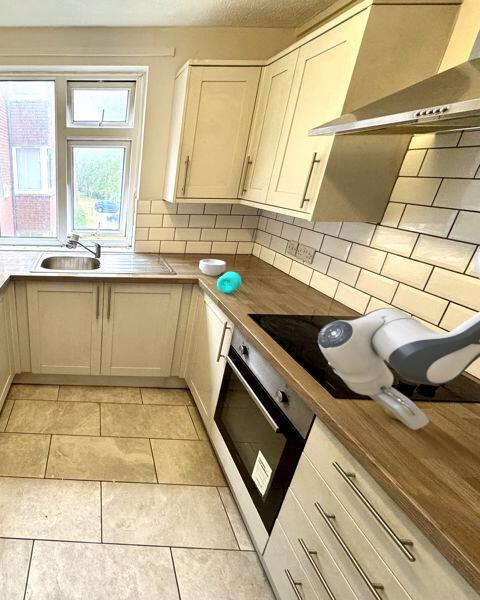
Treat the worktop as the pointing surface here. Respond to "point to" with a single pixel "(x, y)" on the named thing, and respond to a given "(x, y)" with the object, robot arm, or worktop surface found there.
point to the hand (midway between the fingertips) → (390, 408)
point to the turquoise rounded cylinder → (225, 285)
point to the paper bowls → (212, 266)
